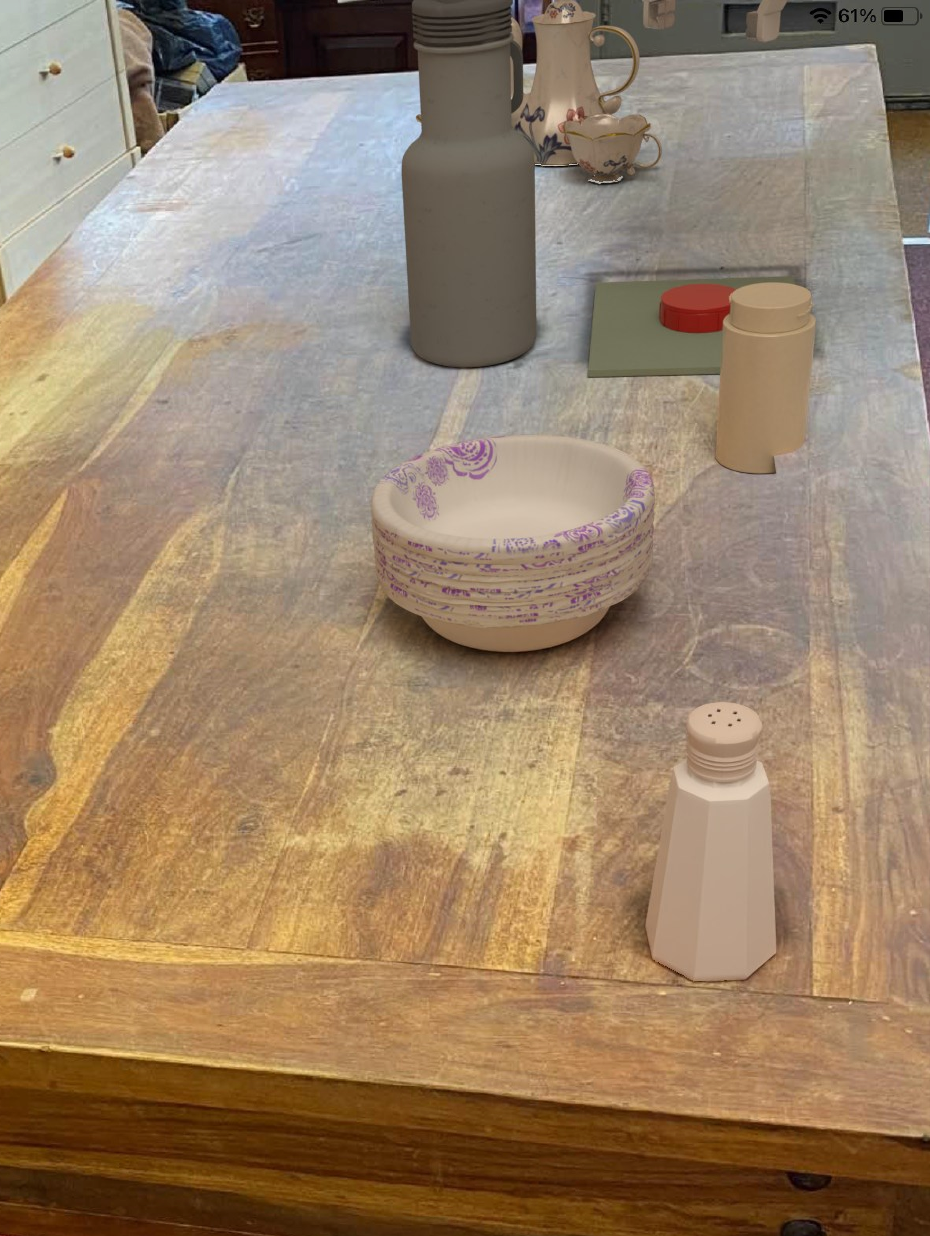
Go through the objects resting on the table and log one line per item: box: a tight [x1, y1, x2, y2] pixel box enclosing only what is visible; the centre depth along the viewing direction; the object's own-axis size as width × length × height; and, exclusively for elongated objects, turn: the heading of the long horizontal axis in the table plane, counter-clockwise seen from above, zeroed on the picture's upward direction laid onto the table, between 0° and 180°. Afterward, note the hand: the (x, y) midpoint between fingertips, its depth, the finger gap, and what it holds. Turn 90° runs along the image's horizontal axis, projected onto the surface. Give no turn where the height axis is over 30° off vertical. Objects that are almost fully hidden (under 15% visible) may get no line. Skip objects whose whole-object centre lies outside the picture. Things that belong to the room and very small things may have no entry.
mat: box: [587, 275, 797, 378], centre depth 126 cm, size 16×20×1 cm
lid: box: [659, 284, 736, 333], centre depth 125 cm, size 6×6×2 cm
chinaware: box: [415, 0, 663, 182], centre depth 165 cm, size 28×17×17 cm, turn 58°
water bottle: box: [401, 0, 538, 368], centre depth 119 cm, size 10×10×28 cm
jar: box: [715, 282, 817, 474], centre depth 103 cm, size 6×6×11 cm
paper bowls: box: [369, 434, 656, 653], centre depth 89 cm, size 15×15×8 cm
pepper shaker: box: [644, 701, 777, 982], centre depth 64 cm, size 5×5×11 cm
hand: (708, 33), depth 114 cm, fingers open, 8 cm apart
